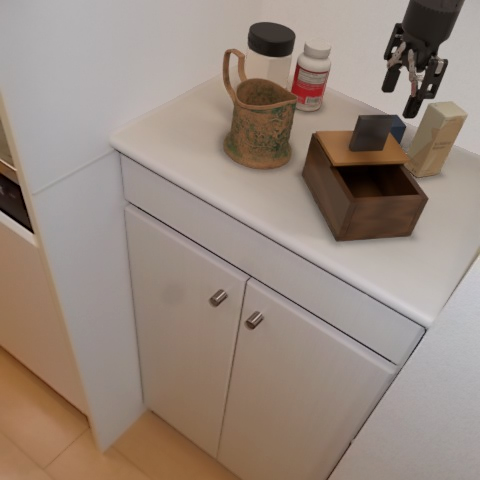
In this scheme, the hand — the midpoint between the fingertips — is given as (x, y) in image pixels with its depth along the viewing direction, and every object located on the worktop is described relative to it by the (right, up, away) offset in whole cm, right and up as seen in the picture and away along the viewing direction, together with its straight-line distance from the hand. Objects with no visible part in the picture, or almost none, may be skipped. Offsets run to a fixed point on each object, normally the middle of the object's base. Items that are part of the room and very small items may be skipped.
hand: (397, 104), depth 89 cm
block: (-1, -4, +5) cm, 7 cm away
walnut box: (-9, -19, -8) cm, 22 cm away
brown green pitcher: (-25, -6, 0) cm, 26 cm away
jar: (-23, +5, +10) cm, 25 cm away
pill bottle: (-14, +4, +10) cm, 18 cm away
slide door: (-9, -12, -12) cm, 19 cm away
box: (+4, -11, +1) cm, 12 cm away
